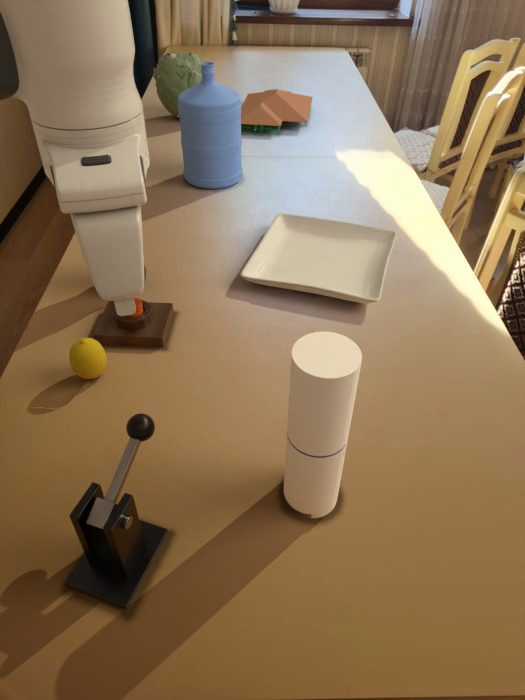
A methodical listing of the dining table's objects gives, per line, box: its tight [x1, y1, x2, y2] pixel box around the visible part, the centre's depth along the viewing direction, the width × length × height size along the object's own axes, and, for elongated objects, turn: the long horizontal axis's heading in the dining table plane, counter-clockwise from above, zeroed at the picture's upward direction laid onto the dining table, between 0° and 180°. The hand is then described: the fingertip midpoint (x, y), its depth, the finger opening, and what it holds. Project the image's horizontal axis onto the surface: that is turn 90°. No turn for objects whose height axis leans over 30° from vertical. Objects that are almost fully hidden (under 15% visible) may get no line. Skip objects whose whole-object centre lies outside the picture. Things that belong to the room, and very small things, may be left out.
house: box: [241, 88, 313, 136], centre depth 179 cm, size 23×33×8 cm
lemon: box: [68, 337, 108, 380], centre depth 85 cm, size 6×6×8 cm
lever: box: [86, 413, 156, 529], centre depth 60 cm, size 13×3×3 cm, turn 161°
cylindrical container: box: [283, 331, 363, 519], centre depth 63 cm, size 7×7×25 cm
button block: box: [92, 299, 175, 348], centre depth 96 cm, size 12×10×4 cm
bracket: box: [64, 481, 169, 610], centre depth 61 cm, size 10×8×12 cm
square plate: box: [239, 213, 398, 304], centre depth 112 cm, size 27×27×4 cm
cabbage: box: [152, 51, 204, 118], centre depth 175 cm, size 16×19×20 cm
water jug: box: [178, 61, 243, 190], centre depth 137 cm, size 16×16×28 cm
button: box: [125, 297, 143, 318], centre depth 94 cm, size 4×4×2 cm
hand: (121, 283), depth 55 cm, fingers open, 8 cm apart
